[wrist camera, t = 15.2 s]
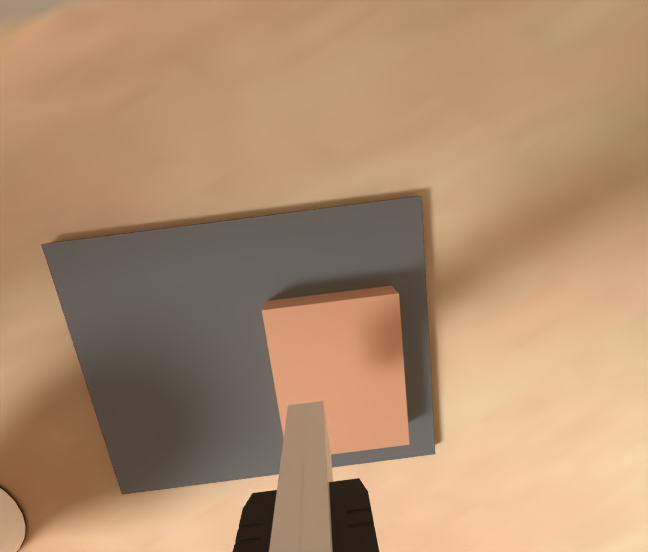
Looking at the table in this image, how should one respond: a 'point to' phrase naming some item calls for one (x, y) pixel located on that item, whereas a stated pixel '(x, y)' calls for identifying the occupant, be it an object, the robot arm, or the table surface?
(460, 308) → the table surface
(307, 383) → the slab
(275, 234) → the mat
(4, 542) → the cup
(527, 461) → the table surface
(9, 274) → the table surface
